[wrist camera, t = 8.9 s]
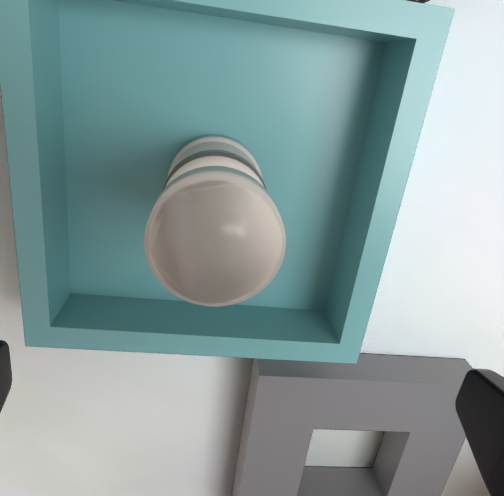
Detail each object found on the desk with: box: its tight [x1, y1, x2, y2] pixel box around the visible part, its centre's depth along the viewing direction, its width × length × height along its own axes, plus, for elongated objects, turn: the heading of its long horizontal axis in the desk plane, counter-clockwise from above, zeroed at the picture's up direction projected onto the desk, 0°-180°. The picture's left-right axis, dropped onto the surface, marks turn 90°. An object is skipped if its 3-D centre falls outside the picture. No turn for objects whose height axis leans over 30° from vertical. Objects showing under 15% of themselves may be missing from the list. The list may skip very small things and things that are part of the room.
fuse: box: [144, 134, 286, 307], centre depth 15 cm, size 4×4×7 cm
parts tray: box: [0, 0, 455, 364], centre depth 17 cm, size 14×14×4 cm
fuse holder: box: [232, 353, 473, 496], centre depth 24 cm, size 12×12×2 cm
